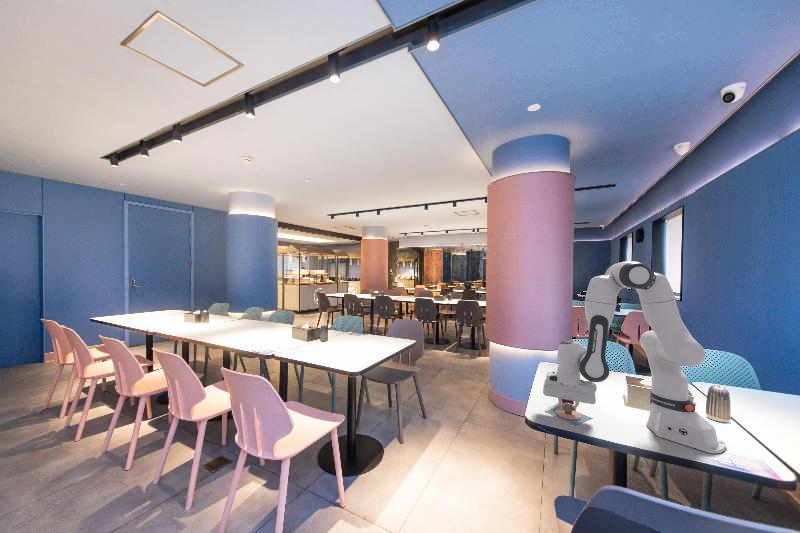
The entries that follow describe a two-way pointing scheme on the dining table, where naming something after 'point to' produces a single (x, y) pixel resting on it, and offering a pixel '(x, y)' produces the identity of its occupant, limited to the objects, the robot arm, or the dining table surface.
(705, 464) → the dining table surface
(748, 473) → the dining table surface
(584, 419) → the mat
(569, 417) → the lid
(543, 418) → the dining table surface
